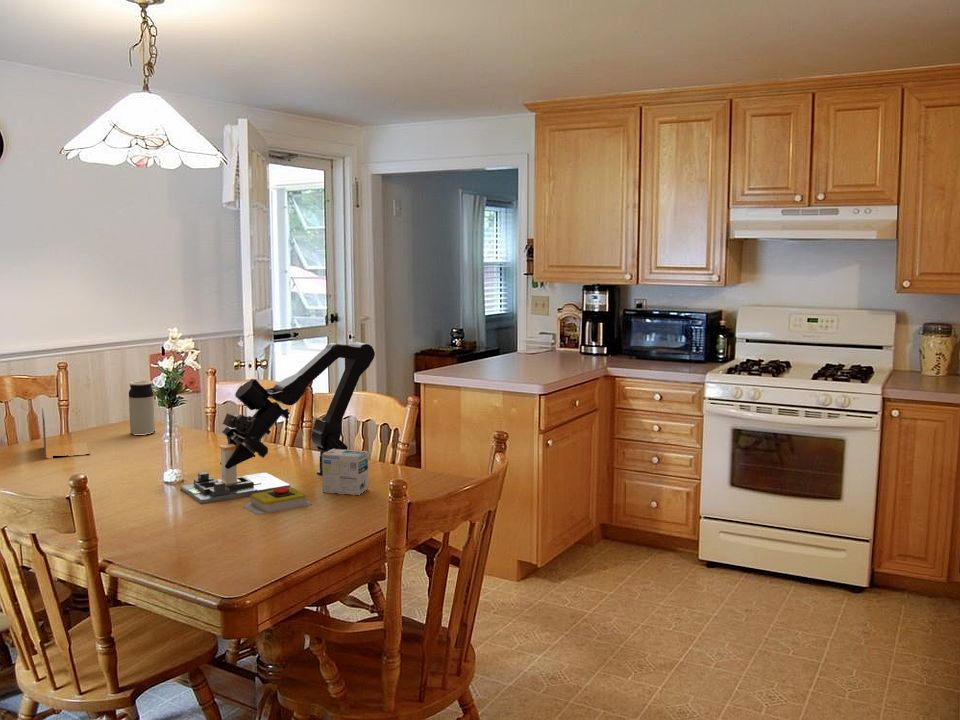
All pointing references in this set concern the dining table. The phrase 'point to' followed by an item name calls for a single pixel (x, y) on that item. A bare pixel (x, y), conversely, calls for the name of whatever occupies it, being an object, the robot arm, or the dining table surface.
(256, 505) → the emergency button
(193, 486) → the breaker panel
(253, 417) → the robot arm
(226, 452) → the handle
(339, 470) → the light bulb box
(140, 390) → the travel mug
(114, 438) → the dining table surface
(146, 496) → the dining table surface
